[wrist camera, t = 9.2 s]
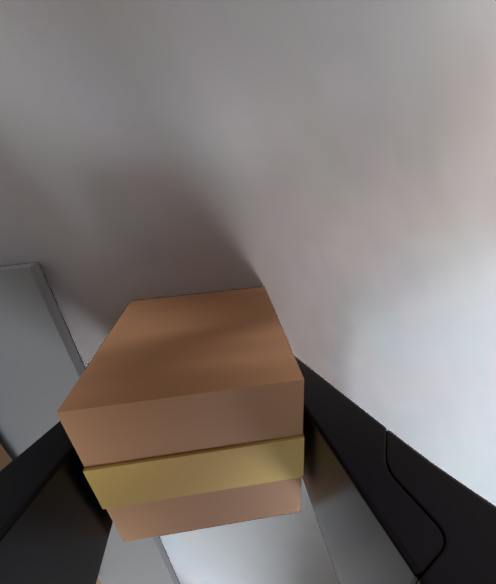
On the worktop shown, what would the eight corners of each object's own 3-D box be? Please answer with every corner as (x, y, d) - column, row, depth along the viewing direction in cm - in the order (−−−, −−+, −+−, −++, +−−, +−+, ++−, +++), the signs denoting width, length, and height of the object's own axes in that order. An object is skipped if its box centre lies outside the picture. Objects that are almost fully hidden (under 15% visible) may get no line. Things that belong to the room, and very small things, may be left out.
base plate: (38, 261, 7) (28, 267, 7) (195, 620, 17) (195, 629, 17) (-492, 320, 6) (-535, 330, 6) (6, 658, 17) (1, 669, 16)
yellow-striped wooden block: (264, 286, 8) (306, 381, 4) (269, 385, 10) (302, 514, 6) (129, 301, 8) (52, 416, 4) (158, 400, 9) (121, 545, 6)
